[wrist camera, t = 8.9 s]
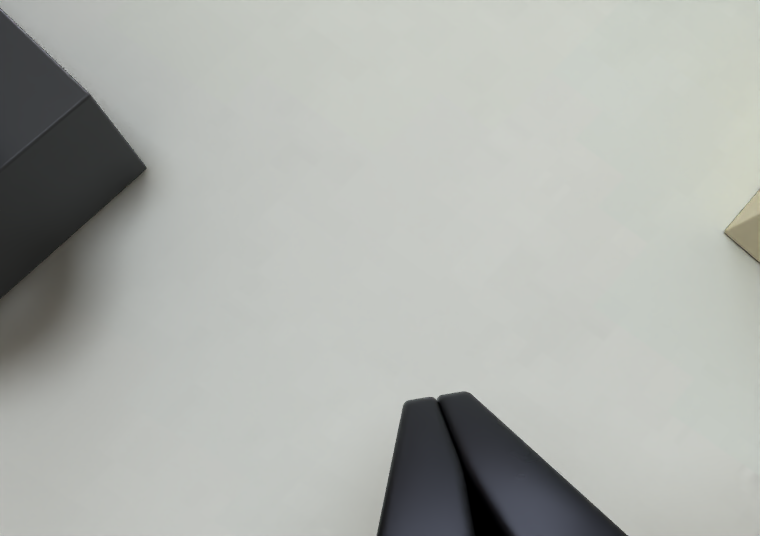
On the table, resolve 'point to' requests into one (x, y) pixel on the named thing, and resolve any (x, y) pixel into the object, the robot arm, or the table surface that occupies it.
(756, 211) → the box
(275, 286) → the table surface
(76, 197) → the dark gray block
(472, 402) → the robot arm
